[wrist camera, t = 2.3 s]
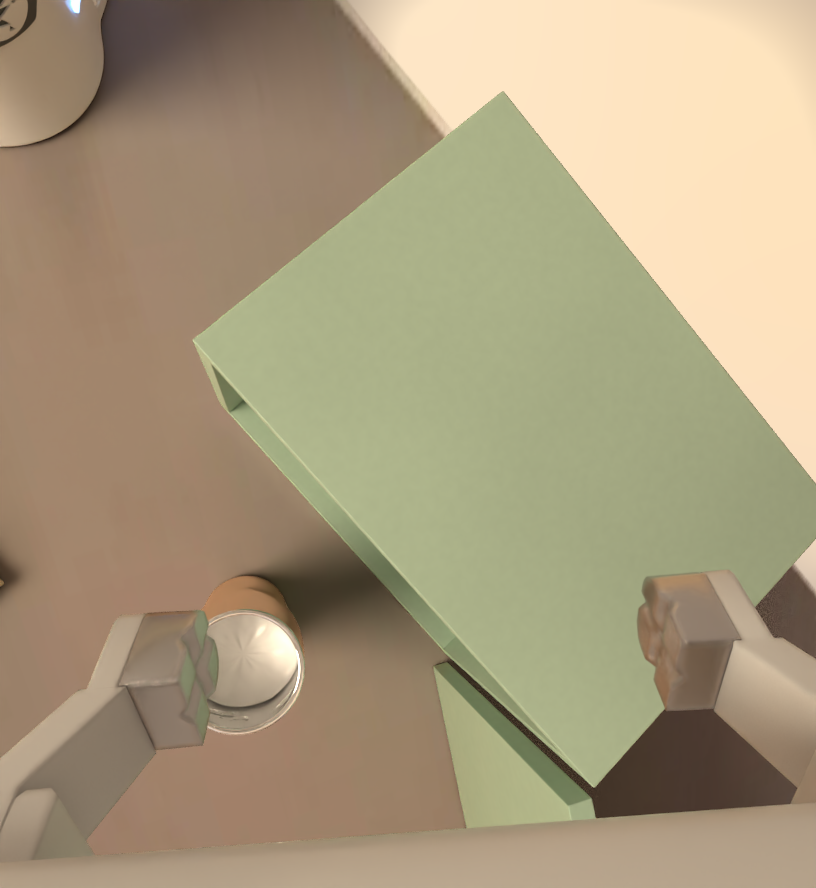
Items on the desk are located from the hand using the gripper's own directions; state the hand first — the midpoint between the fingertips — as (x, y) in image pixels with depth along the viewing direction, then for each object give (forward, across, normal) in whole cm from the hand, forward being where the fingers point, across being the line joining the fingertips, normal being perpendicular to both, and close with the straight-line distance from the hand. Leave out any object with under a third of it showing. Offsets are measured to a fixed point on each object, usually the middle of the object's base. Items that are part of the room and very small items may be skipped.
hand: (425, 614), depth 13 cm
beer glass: (+27, +13, +28) cm, 41 cm away
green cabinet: (+36, -1, +21) cm, 42 cm away
